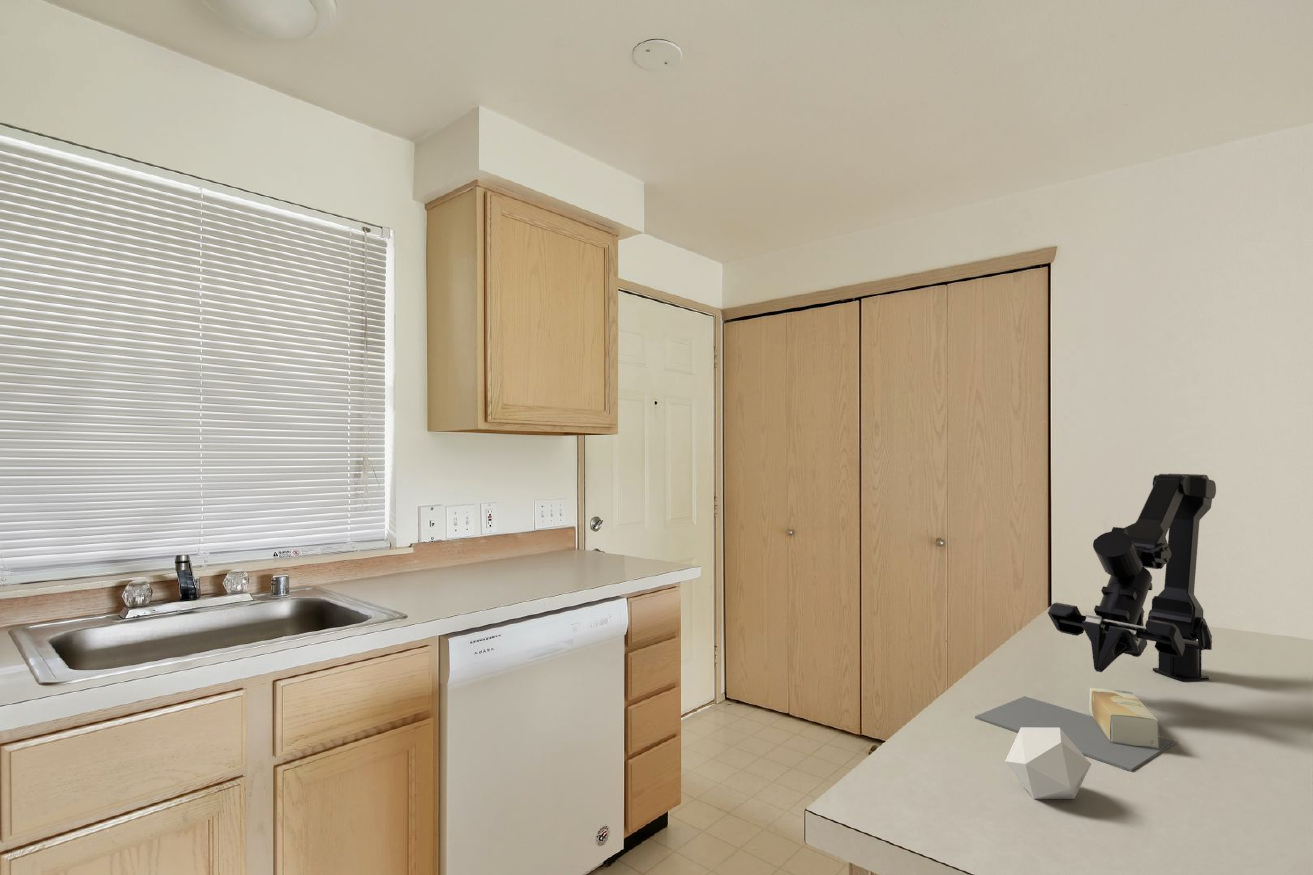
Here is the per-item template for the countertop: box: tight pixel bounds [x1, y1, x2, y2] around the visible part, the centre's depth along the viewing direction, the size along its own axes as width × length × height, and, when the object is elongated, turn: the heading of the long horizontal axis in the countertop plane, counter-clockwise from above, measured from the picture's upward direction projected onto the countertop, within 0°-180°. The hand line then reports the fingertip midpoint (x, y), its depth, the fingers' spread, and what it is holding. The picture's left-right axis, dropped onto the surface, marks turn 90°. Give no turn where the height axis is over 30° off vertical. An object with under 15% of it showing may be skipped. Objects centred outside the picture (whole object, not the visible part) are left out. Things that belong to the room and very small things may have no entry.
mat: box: [974, 696, 1176, 772], centre depth 106 cm, size 16×22×1 cm
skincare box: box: [1088, 687, 1160, 749], centre depth 105 cm, size 6×4×12 cm
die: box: [1004, 727, 1092, 800], centre depth 86 cm, size 8×9×10 cm
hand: (1097, 670), depth 111 cm, fingers closed
